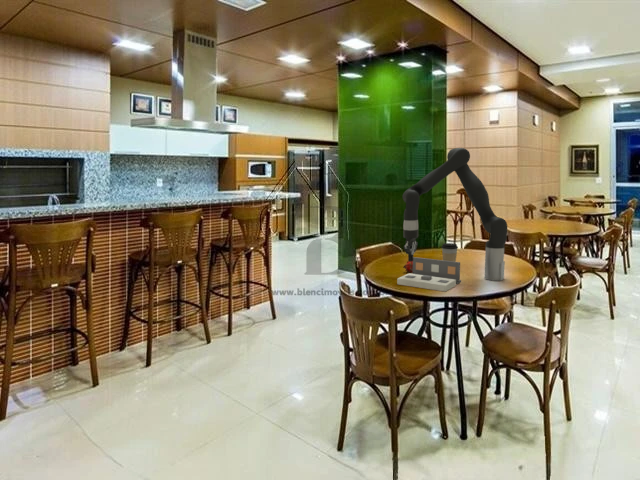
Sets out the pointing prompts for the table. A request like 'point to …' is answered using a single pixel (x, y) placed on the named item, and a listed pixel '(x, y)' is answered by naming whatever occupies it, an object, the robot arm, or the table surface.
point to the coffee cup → (449, 252)
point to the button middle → (426, 277)
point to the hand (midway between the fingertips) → (410, 261)
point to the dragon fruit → (409, 266)
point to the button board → (426, 282)
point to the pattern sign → (437, 268)
